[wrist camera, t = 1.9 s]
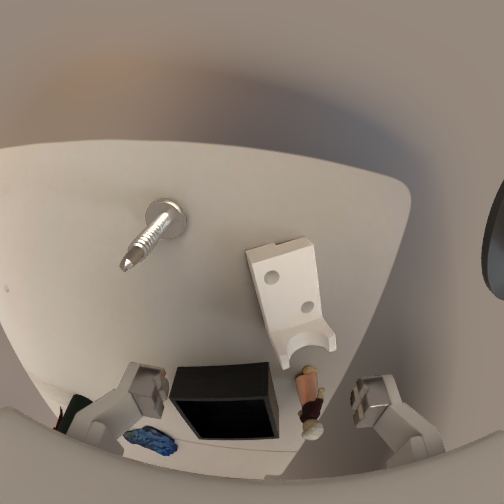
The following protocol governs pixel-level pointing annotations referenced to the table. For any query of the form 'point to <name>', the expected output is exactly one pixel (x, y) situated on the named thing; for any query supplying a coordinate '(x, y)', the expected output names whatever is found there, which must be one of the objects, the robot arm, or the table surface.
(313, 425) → the grandmother figurine
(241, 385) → the open box
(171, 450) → the rock
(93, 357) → the table surface
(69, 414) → the wine bottle
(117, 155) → the table surface
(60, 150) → the table surface
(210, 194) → the table surface
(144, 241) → the screw
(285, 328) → the bracket
